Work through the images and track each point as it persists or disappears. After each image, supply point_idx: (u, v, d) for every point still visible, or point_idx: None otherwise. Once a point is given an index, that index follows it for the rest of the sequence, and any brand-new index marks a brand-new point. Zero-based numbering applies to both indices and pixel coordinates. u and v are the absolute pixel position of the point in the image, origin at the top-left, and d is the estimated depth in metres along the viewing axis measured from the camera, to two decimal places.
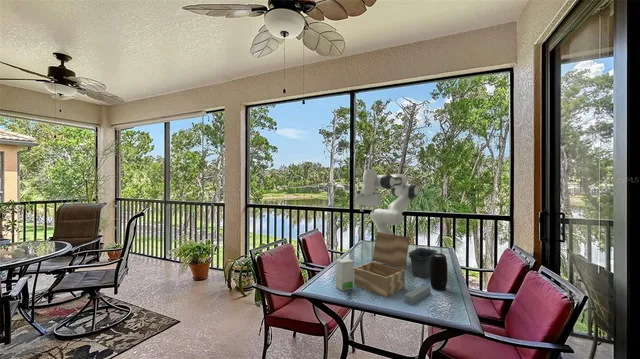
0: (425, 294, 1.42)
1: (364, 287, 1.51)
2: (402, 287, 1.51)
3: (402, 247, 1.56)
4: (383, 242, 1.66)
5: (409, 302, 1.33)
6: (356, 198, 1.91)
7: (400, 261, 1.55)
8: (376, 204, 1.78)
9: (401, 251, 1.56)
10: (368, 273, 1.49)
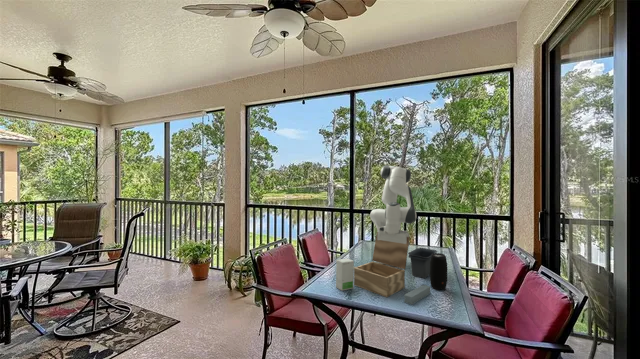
0: (425, 294, 1.42)
1: (364, 287, 1.51)
2: (402, 287, 1.51)
3: (402, 247, 1.56)
4: (383, 242, 1.66)
5: (409, 302, 1.33)
6: (379, 235, 1.68)
7: (400, 261, 1.55)
8: None
9: (401, 251, 1.56)
10: (368, 273, 1.49)
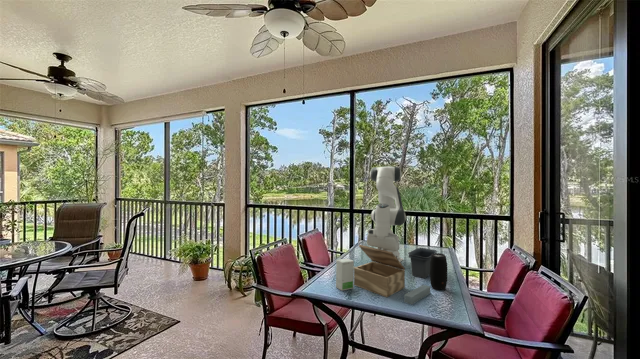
0: (425, 294, 1.42)
1: (364, 287, 1.51)
2: (402, 287, 1.51)
3: (391, 258, 1.48)
4: (372, 253, 1.57)
5: (409, 302, 1.33)
6: (368, 238, 1.61)
7: (397, 265, 1.52)
8: (394, 249, 1.49)
9: (392, 260, 1.50)
10: (368, 273, 1.49)
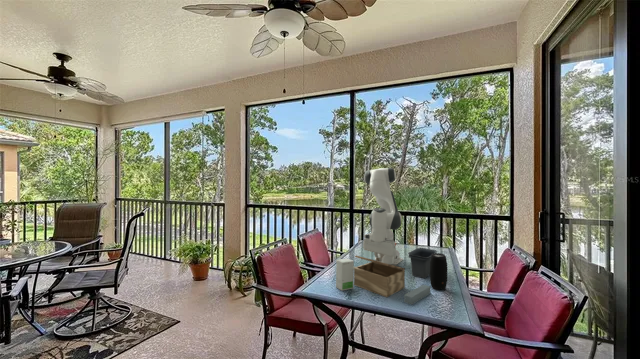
0: (425, 294, 1.42)
1: (364, 287, 1.51)
2: (402, 287, 1.51)
3: None
4: None
5: (409, 302, 1.33)
6: (365, 243, 1.59)
7: None
8: (390, 254, 1.47)
9: None
10: (368, 273, 1.49)
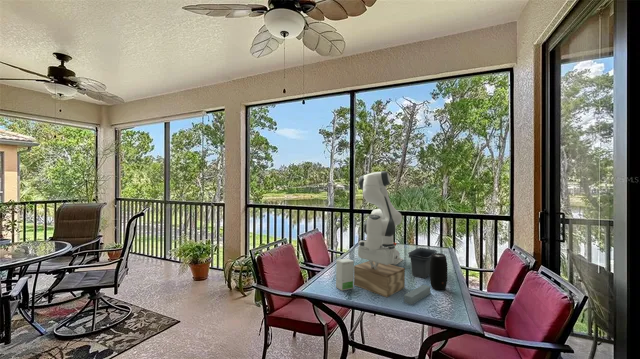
0: (425, 294, 1.42)
1: (364, 287, 1.51)
2: (402, 287, 1.51)
3: None
4: None
5: (409, 302, 1.33)
6: (359, 250, 1.56)
7: None
8: (385, 262, 1.43)
9: None
10: (368, 273, 1.49)
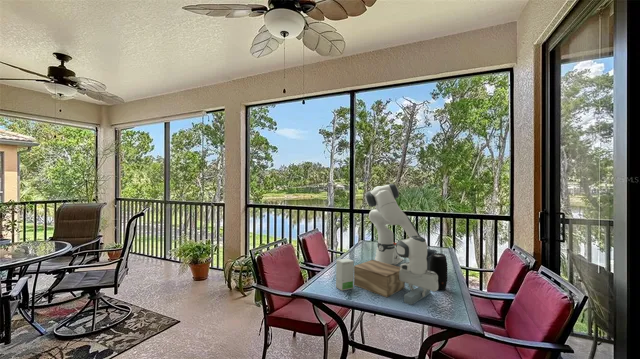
0: (425, 294, 1.42)
1: (364, 287, 1.51)
2: (402, 287, 1.51)
3: None
4: None
5: (409, 302, 1.33)
6: (401, 274, 1.45)
7: None
8: (432, 289, 1.33)
9: None
10: (368, 273, 1.49)
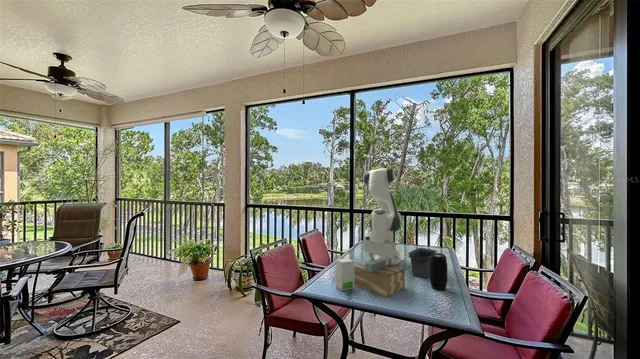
0: None
1: (364, 287, 1.51)
2: (402, 287, 1.51)
3: None
4: None
5: (369, 269, 1.47)
6: (365, 245, 1.59)
7: None
8: (390, 256, 1.47)
9: None
10: (368, 273, 1.49)
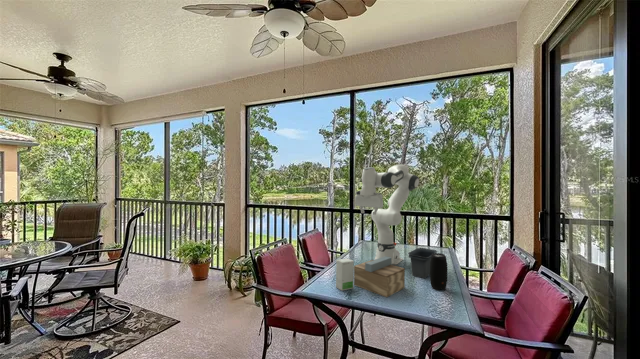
0: (386, 264, 1.56)
1: (364, 287, 1.51)
2: (402, 287, 1.51)
3: None
4: None
5: (369, 269, 1.47)
6: (356, 199, 1.78)
7: None
8: (378, 206, 1.66)
9: None
10: (368, 273, 1.49)
